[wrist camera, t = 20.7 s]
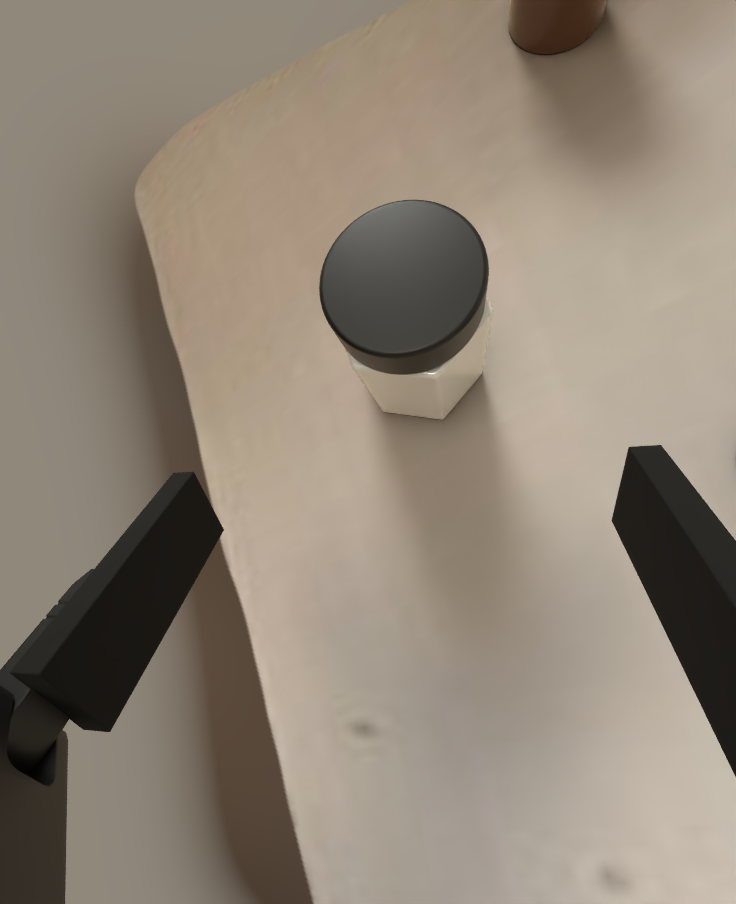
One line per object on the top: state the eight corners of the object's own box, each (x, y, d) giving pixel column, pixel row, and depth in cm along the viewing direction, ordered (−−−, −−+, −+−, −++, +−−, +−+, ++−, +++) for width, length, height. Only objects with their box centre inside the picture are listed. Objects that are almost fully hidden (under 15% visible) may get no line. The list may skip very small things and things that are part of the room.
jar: (491, 319, 30) (511, 196, 19) (473, 426, 29) (484, 366, 18) (374, 311, 32) (328, 195, 21) (354, 410, 31) (294, 346, 20)
